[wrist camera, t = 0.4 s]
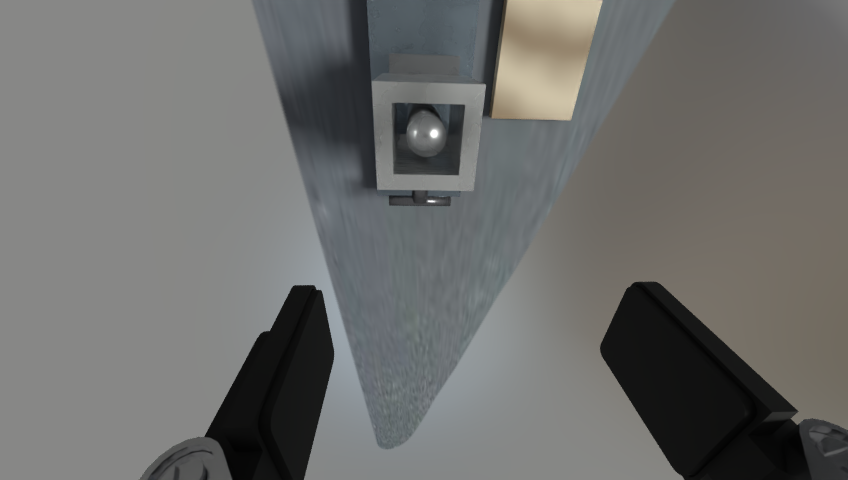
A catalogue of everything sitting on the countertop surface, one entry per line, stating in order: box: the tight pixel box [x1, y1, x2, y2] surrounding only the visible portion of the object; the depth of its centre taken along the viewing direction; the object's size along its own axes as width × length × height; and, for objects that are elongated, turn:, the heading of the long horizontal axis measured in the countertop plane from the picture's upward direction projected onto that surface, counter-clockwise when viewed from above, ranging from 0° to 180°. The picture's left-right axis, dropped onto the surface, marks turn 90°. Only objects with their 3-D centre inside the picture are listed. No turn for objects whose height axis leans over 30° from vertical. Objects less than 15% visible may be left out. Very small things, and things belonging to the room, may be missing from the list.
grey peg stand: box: [367, 0, 479, 206], centre depth 24 cm, size 18×9×14 cm, turn 178°
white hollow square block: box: [372, 73, 486, 191], centre depth 21 cm, size 6×6×7 cm
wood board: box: [489, 0, 602, 120], centre depth 27 cm, size 14×8×1 cm, turn 178°
